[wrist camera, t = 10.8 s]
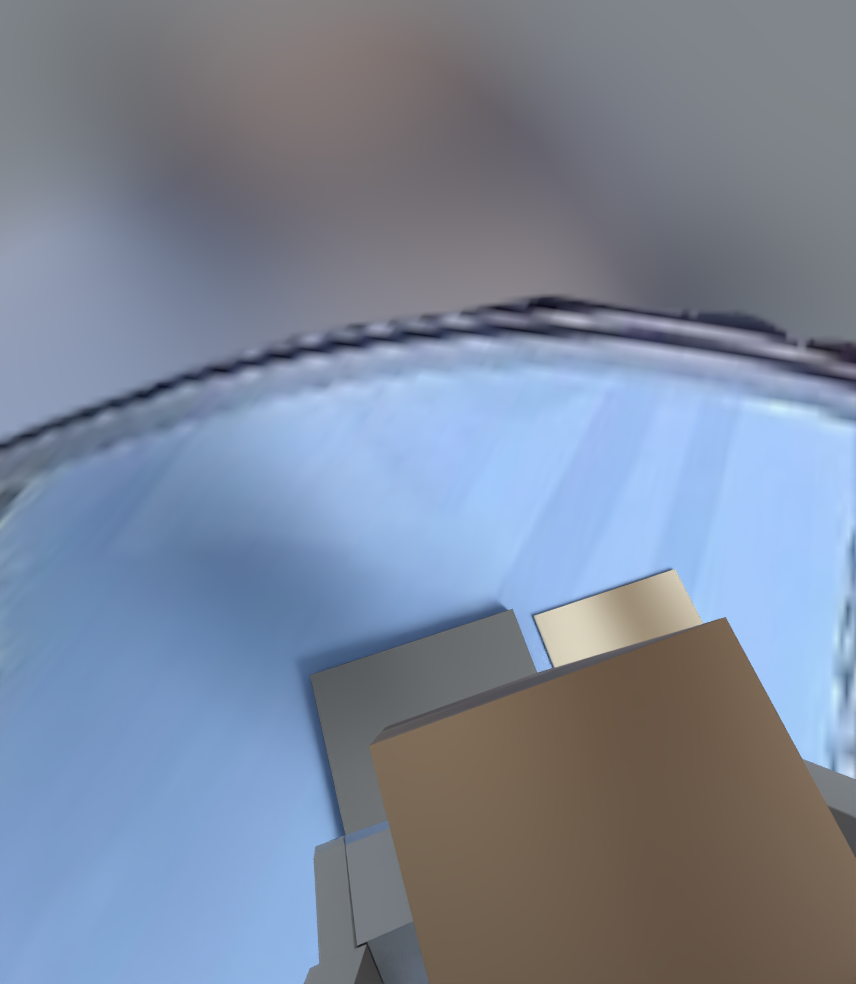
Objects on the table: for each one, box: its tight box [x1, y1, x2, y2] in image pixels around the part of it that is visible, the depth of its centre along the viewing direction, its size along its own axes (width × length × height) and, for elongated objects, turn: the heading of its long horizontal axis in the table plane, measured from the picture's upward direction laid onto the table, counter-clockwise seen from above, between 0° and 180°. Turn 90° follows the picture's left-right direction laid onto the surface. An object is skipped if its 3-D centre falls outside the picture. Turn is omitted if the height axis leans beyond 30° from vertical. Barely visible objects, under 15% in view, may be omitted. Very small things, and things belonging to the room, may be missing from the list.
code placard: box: [533, 569, 703, 668], centre depth 21 cm, size 7×9×1 cm
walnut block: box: [369, 617, 856, 984], centre depth 9 cm, size 5×5×9 cm
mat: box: [310, 609, 537, 835], centre depth 19 cm, size 9×10×1 cm
